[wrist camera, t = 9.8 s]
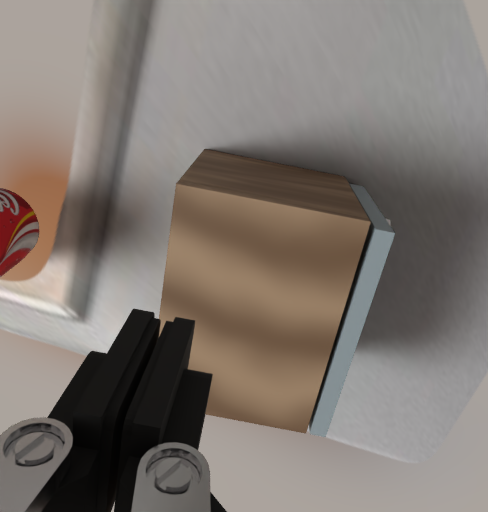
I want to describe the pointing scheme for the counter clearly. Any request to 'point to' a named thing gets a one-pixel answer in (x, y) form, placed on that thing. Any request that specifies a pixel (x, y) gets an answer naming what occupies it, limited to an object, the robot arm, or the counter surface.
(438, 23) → the counter surface
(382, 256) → the door
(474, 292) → the counter surface
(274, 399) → the cabinet
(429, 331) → the counter surface
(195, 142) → the counter surface
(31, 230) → the soda can
